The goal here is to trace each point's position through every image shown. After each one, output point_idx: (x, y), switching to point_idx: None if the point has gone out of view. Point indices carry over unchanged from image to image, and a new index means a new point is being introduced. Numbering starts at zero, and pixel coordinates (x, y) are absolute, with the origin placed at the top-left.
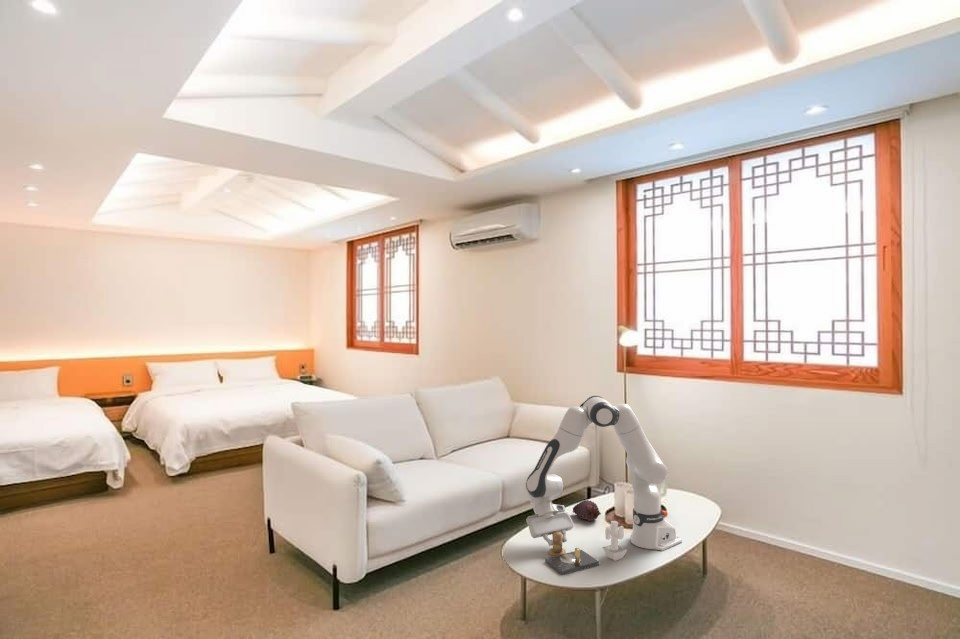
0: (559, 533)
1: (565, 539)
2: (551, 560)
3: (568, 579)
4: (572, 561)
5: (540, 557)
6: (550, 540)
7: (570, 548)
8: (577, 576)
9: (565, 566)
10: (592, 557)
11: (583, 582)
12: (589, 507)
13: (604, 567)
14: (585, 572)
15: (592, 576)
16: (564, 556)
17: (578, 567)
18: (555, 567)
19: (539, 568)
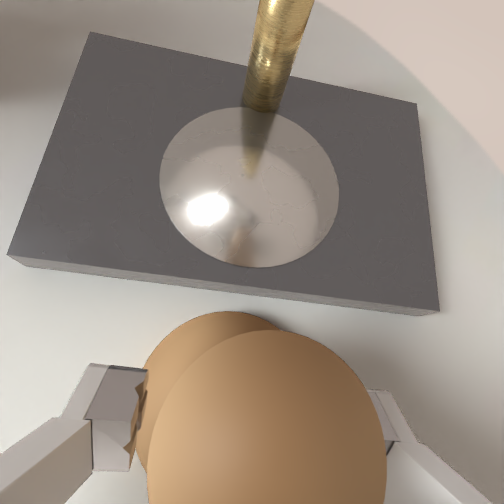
0: (226, 419)
1: (106, 374)
2: (405, 250)
3: (389, 71)
4: (270, 140)
5: (413, 417)
6: (390, 432)
7: (14, 427)
8: (326, 61)
9: (359, 126)
10: (73, 92)
11: (336, 12)
12: None
13: (97, 23)
14: None
15: (251, 14)
16: (270, 236)
17: None
18: (419, 167)
19: (491, 261)
